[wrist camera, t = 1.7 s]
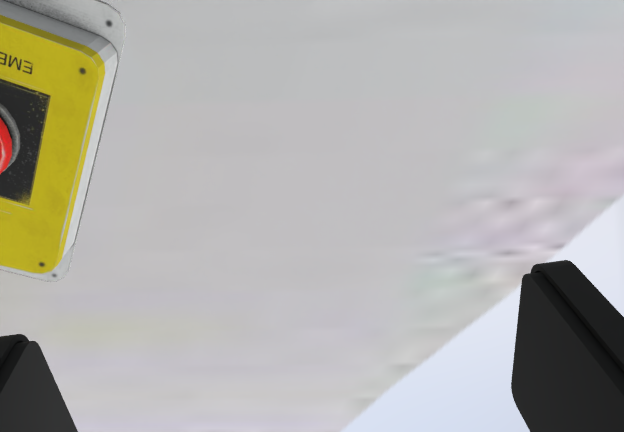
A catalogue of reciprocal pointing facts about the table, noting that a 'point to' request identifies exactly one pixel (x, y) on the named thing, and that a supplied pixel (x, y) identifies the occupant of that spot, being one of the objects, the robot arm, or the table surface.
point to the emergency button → (51, 124)
